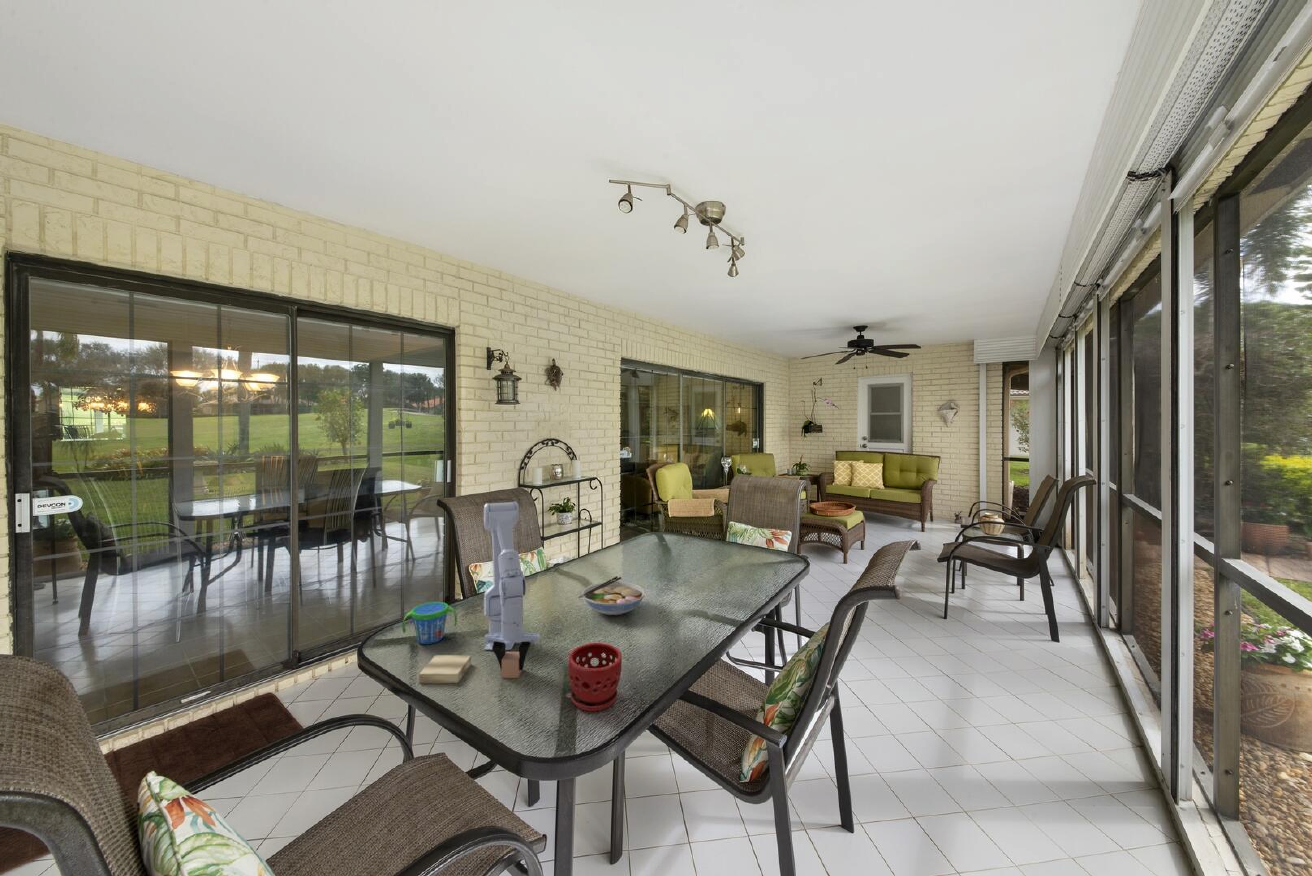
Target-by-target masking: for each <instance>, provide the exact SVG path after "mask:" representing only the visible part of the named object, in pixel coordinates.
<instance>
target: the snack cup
mask: <svg viewBox="0 0 1312 876" xmlns="http://www.w3.org/2000/svg"><path fill="white" fill-rule="evenodd" d="M448 612H453V615H454V627H456V625H457V623H458V613H457V611H456V610H455V609H454V608H453V607H452V606H450V605H448V603H446V602H443V601H433V602H432V601H431V602H426V603H422V604H419V605H417V606H414V608H412V609H411V610H410V611H409V612H407V613H406V615H405V616H404V618H403V620H402V625H401V629H402V633H404V634H406V626H405V625H406V624H405V620H406V619H407V618H408V617H411V618H412V622H413V626H414V629H415V630H414V632H415V636H416V640H417V642H418V643H419V644H422V645H430V644H435V643H438V642H439V641H441V640H442V639H443V638H444V636H445V629H446V622H447V621H446V620H447V613H448Z"/></svg>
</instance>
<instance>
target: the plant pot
mask: <svg viewBox="0 0 1312 876" xmlns="http://www.w3.org/2000/svg"><path fill="white" fill-rule="evenodd" d="M589 654H591V655H590V656H589ZM602 654H605V657H604V656H603V655H602ZM577 659H578V660H577ZM583 659H584V660H583ZM592 659H597V660H598V663H597V664H595V665H592V663H591V661H592ZM622 660H623V658H622V652H621V651H620V650H619V649H618V648H617V647H616V646H613V644H608V643H605V642H591V643H586V644H582V645H580V646H577V647H575V648H574V649H573V650H572V651H571V652H570V653H569V655H568V680H569V684H570V687H571V689H572V690H571V693H570V698H571V702H572V703H573V705H575V706H576V707H577V708H579V709H581V710H583V711H588V712H596V711H597V710H599V711H603V710H605V708H606V709H608V708H609V707H610V706H612V705H613V704H614V703H615V702H616V701H617V698H618V695H619V693H618V692H619V691H618V689H617V688H618V686H619V684H620V683H619V682H620V679H621V674H622V673H621V672H622V664H623V663H622V662H623V661H622ZM603 662H605V664H604V663H603ZM586 665H587V667H586ZM607 707H608V708H607ZM602 709H603V710H602Z"/></svg>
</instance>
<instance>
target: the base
mask: <svg viewBox="0 0 1312 876" xmlns="http://www.w3.org/2000/svg"><path fill="white" fill-rule="evenodd" d="M471 665H472V655H468V654H467V655H466V654H465V655H464V654H463V655H457V654H456V655H455V654H454V655H453V654H452V655H451V654H449V655H448V654H447V655H445V654H444V655H442V654H441V655H440V654H439V655H438V654H437V655H436V654H435V655H434V656H433V657H432V659H431V660H430V661H429V662H428V663H427V664H426V665H425V666H424V668H422V670H421V671H420V672H419V674H418V676H419V677H418V683H419V684H458V683H460V681H461V679H462V678H463V676H464V675H465V673H466V672H467V671H468V669H469V668H470V666H471Z"/></svg>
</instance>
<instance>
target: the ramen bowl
mask: <svg viewBox="0 0 1312 876" xmlns="http://www.w3.org/2000/svg"><path fill="white" fill-rule="evenodd" d="M619 580H620V581H619ZM621 580H622V576H617V575H616V576H614V577H612V578H611V579H608V580H607V581H603V582H597V583H594V584H591V585H588V586H587V587H585V588H584V589H583V590H582V592H581V593H582V595H580V596H578V597H577V599H581V598H584V599H583V600H584V601H585V602H586V603H587V604H588V605H589V607H591V609H592V610H594V611H596V612H598V613H600V614H604V615H606V616H611V615H615V616H620V615H622V614H626V613H629V612H631V611H633V610H634V609H635V608H637V607H638V605H639V604H640V603H642V600H643V599H644V597H645V594H646V590H645V588H643V587H642V586H641V585H638V584H636V583H634V582H633V583H632V582H629V581H628V582H627V581H621Z"/></svg>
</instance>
